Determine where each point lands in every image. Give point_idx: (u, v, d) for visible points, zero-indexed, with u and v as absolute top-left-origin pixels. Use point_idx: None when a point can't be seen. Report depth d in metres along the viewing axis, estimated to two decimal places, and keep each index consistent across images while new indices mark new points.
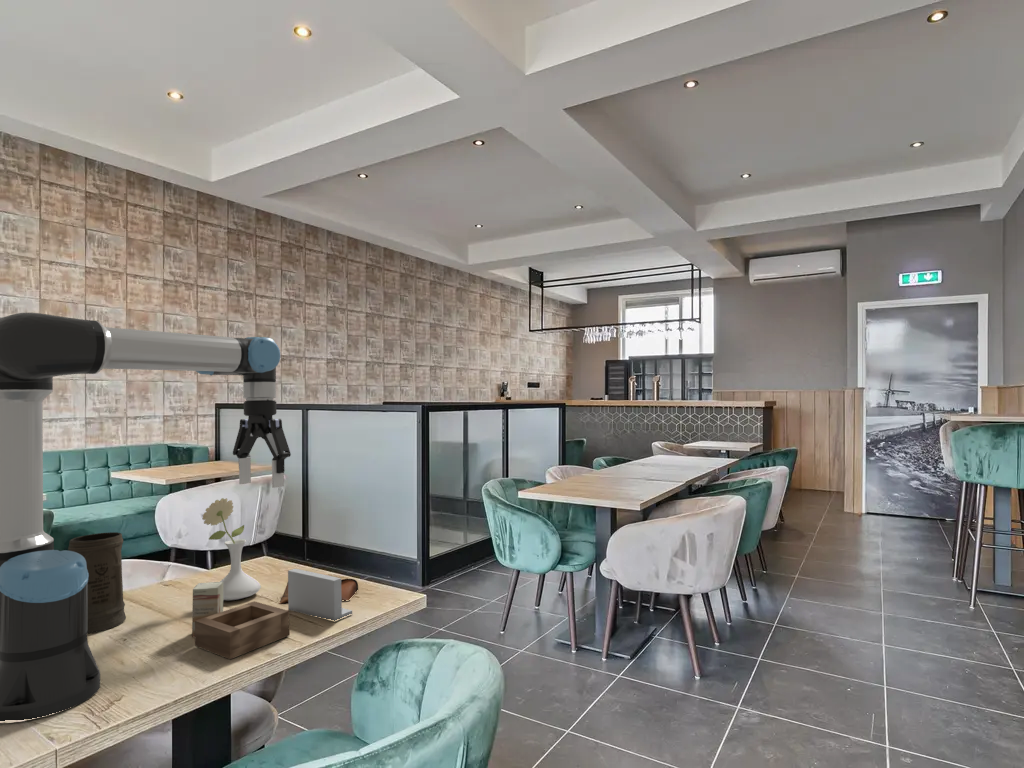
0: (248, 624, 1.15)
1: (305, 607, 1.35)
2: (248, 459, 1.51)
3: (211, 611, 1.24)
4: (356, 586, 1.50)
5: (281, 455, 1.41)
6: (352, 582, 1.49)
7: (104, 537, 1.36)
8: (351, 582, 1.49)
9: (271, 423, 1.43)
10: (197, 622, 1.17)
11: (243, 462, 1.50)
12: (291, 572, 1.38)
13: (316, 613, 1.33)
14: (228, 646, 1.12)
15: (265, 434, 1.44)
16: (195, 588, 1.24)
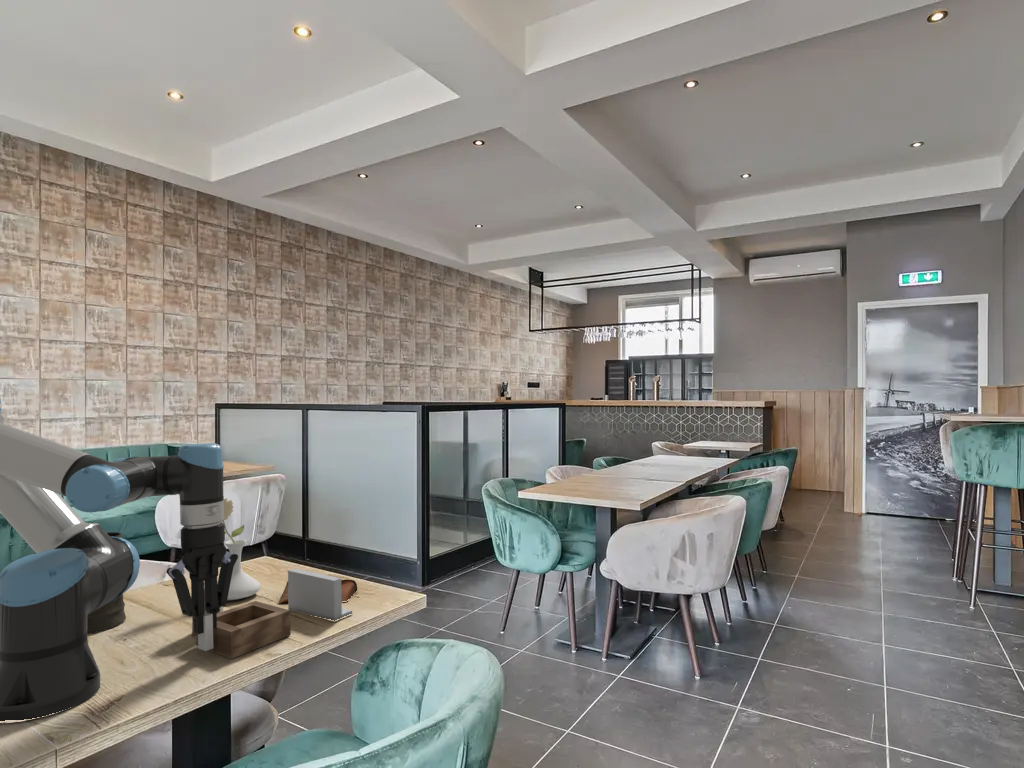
0: (249, 624, 1.16)
1: (305, 607, 1.35)
2: None
3: None
4: (355, 587, 1.49)
5: None
6: (351, 583, 1.48)
7: None
8: (350, 583, 1.48)
9: None
10: None
11: None
12: (291, 572, 1.38)
13: (316, 613, 1.33)
14: (229, 645, 1.12)
15: (190, 576, 1.13)
16: None
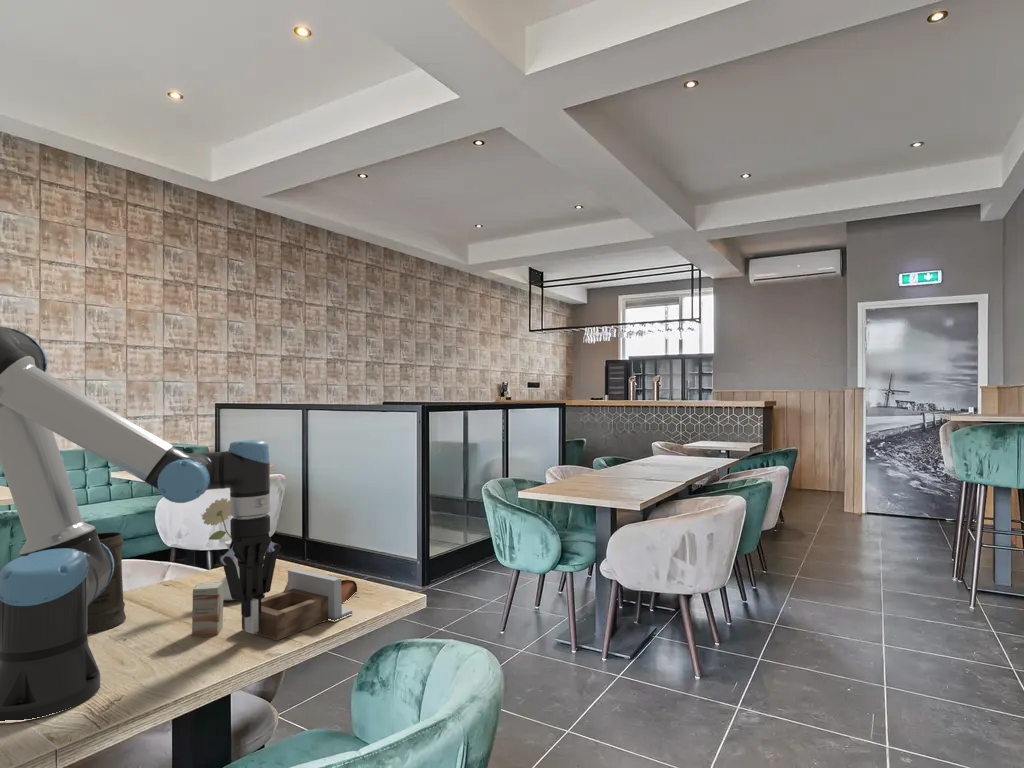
0: (292, 608, 1.24)
1: None
2: None
3: (211, 611, 1.24)
4: (355, 587, 1.49)
5: None
6: (350, 583, 1.48)
7: (104, 537, 1.36)
8: (349, 583, 1.48)
9: None
10: None
11: None
12: (291, 572, 1.38)
13: None
14: (275, 628, 1.20)
15: (239, 564, 1.21)
16: (195, 588, 1.24)
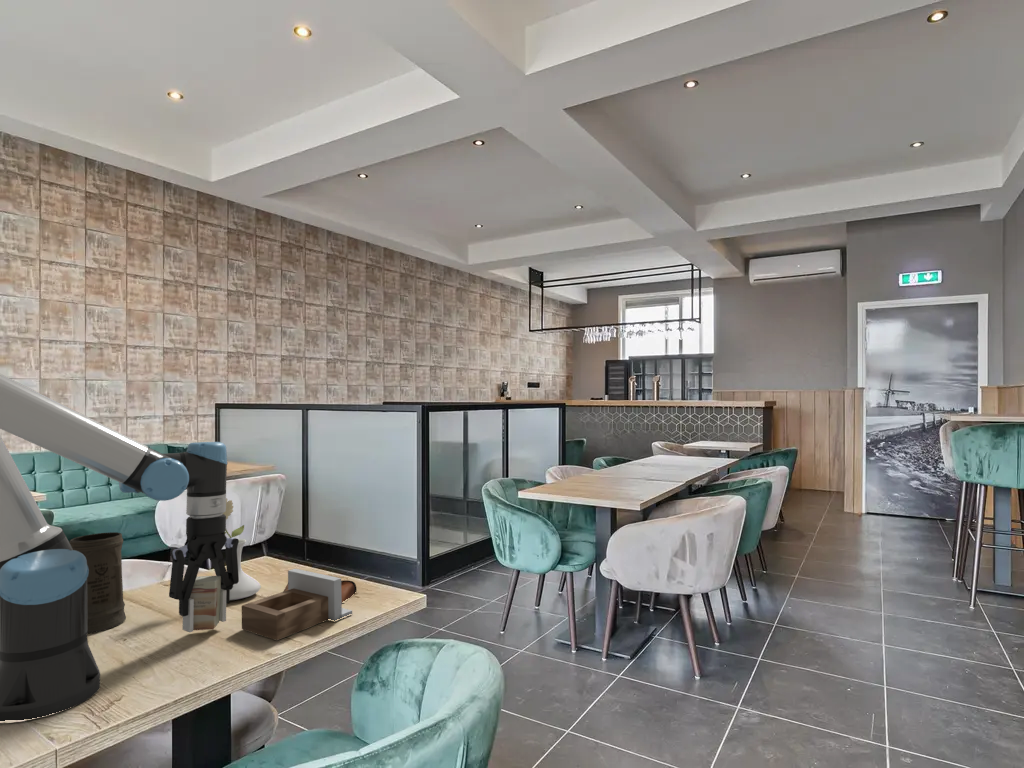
0: (292, 608, 1.24)
1: None
2: (221, 592, 1.27)
3: (208, 604, 1.23)
4: (354, 588, 1.49)
5: None
6: (349, 584, 1.48)
7: (104, 537, 1.36)
8: (348, 584, 1.47)
9: None
10: (244, 607, 1.26)
11: None
12: (291, 572, 1.38)
13: None
14: (275, 628, 1.20)
15: (188, 561, 1.24)
16: None
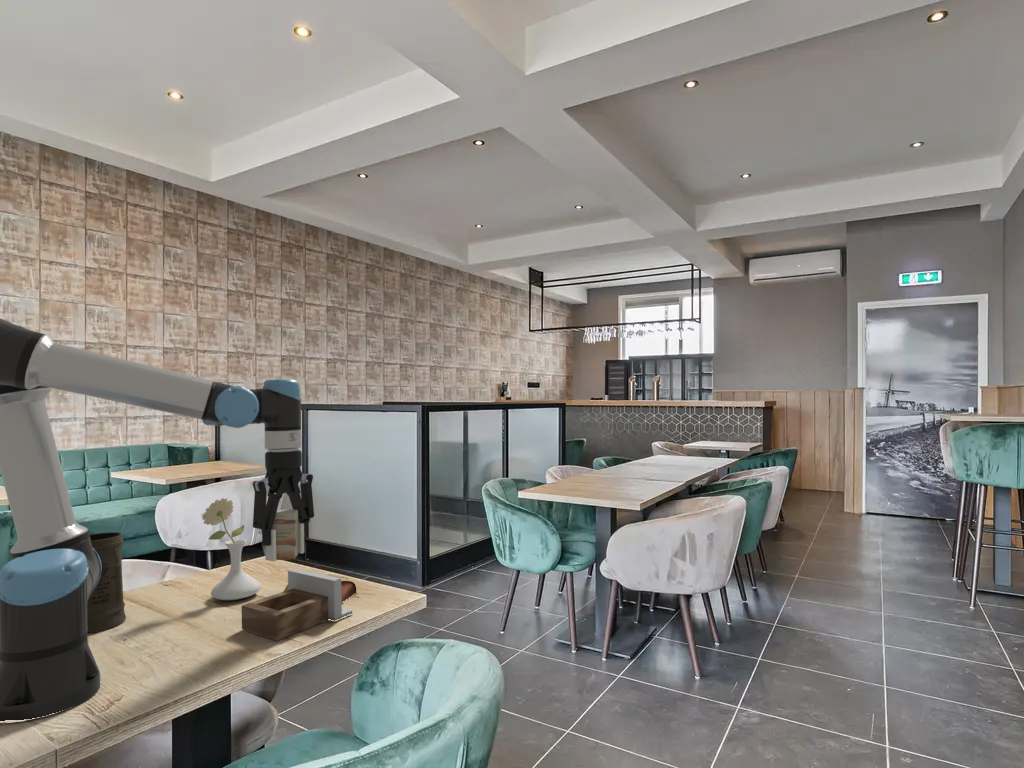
0: (292, 608, 1.24)
1: None
2: (299, 525, 1.31)
3: (288, 535, 1.27)
4: (354, 588, 1.48)
5: None
6: (349, 584, 1.47)
7: (104, 537, 1.36)
8: (348, 584, 1.47)
9: None
10: (244, 607, 1.26)
11: None
12: (291, 572, 1.38)
13: None
14: (275, 628, 1.20)
15: (268, 494, 1.27)
16: None
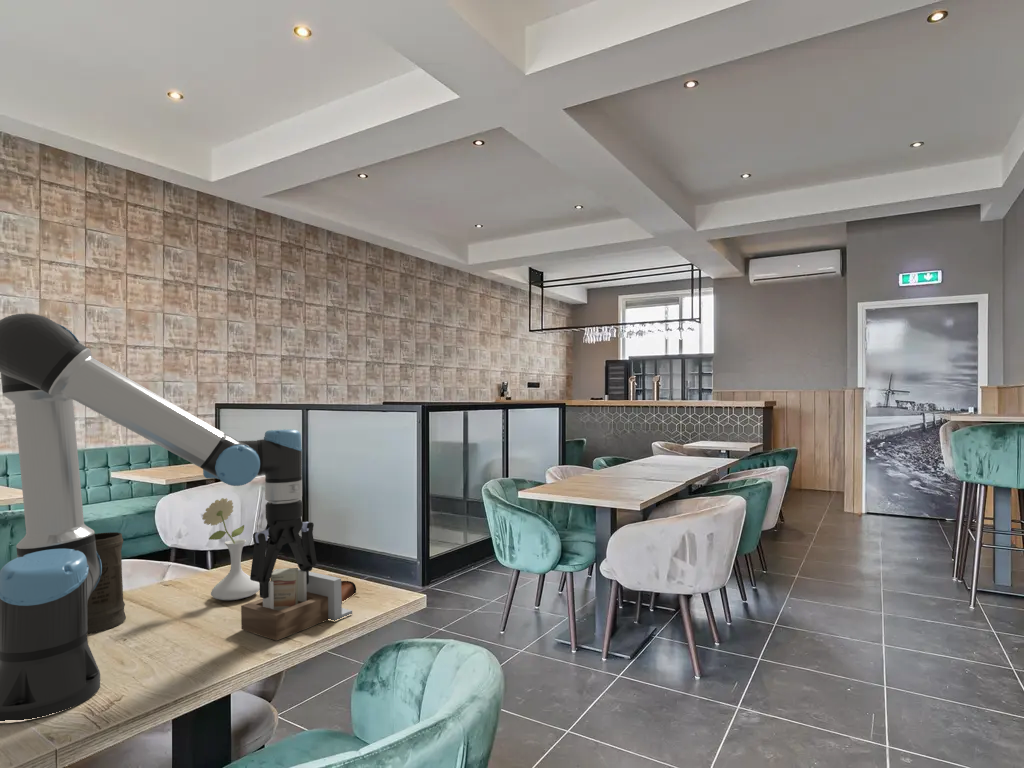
0: (292, 608, 1.24)
1: None
2: (301, 574, 1.31)
3: (288, 596, 1.27)
4: (353, 589, 1.48)
5: None
6: (349, 584, 1.47)
7: (104, 537, 1.36)
8: (348, 584, 1.47)
9: None
10: (244, 607, 1.26)
11: (298, 576, 1.32)
12: None
13: None
14: (274, 628, 1.20)
15: (268, 545, 1.27)
16: (273, 573, 1.27)
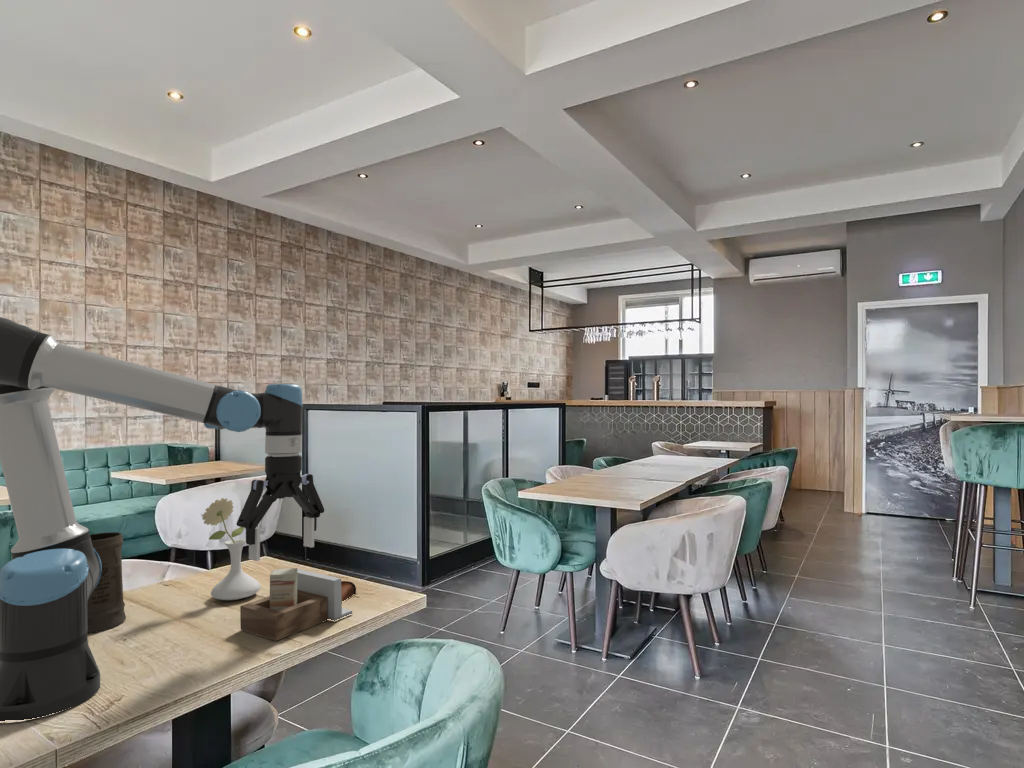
0: (291, 609, 1.24)
1: None
2: (309, 520, 1.34)
3: (287, 596, 1.26)
4: (353, 589, 1.48)
5: None
6: (348, 585, 1.47)
7: (104, 537, 1.36)
8: (347, 585, 1.47)
9: None
10: (243, 607, 1.26)
11: (305, 522, 1.35)
12: None
13: None
14: (273, 629, 1.20)
15: (264, 495, 1.27)
16: (272, 573, 1.27)
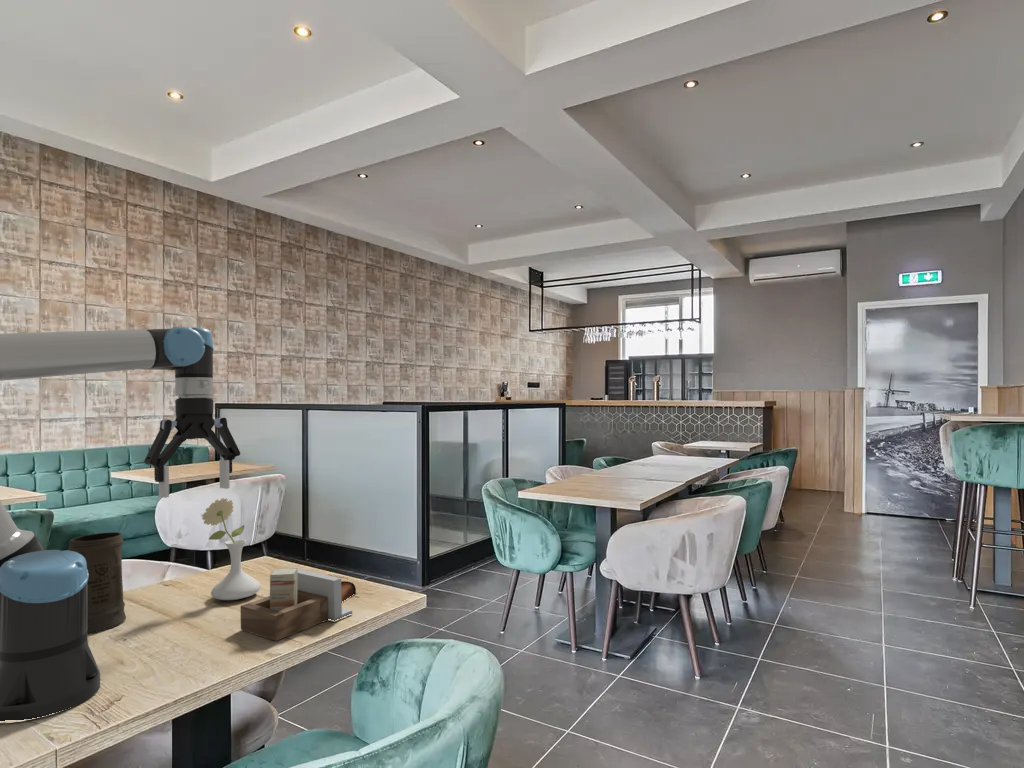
0: (291, 608, 1.24)
1: None
2: (224, 462, 1.37)
3: (287, 596, 1.26)
4: (353, 589, 1.48)
5: None
6: (348, 585, 1.47)
7: (104, 537, 1.36)
8: (347, 585, 1.47)
9: None
10: (243, 607, 1.26)
11: (221, 465, 1.38)
12: None
13: None
14: (274, 629, 1.20)
15: (174, 436, 1.30)
16: (272, 573, 1.27)
